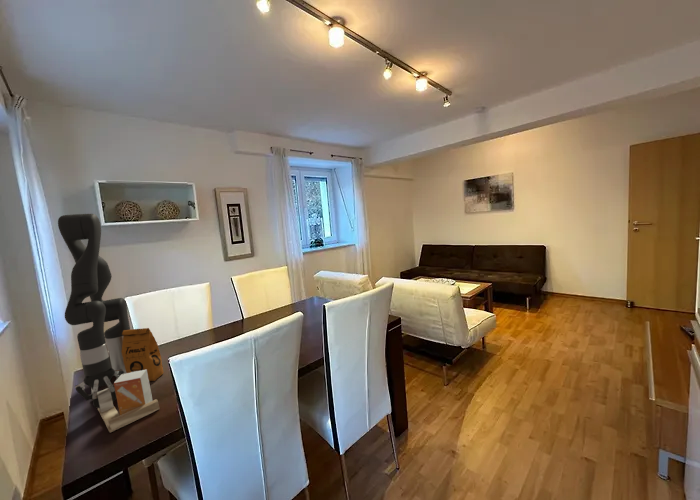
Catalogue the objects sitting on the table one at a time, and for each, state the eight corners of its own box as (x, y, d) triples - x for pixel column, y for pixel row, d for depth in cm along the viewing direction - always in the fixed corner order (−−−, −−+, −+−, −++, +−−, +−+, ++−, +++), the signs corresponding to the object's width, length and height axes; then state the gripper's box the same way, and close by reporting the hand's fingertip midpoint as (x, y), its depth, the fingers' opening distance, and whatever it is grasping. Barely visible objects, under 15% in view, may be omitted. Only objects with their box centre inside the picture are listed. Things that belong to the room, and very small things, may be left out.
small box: (120, 419, 104) (112, 383, 102) (128, 407, 110) (121, 373, 108) (147, 412, 106) (140, 377, 104) (153, 402, 112) (147, 368, 111)
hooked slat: (92, 399, 117) (88, 382, 116) (135, 382, 128) (132, 366, 127) (109, 432, 97) (105, 412, 96) (159, 409, 107) (156, 390, 106)
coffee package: (153, 384, 125) (143, 332, 122) (124, 386, 126) (113, 334, 123) (168, 371, 135) (159, 323, 132) (141, 373, 136) (132, 325, 133)
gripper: (118, 348, 115) (126, 391, 117) (67, 364, 104) (77, 411, 106) (123, 352, 109) (132, 397, 112) (70, 370, 99) (81, 419, 101)
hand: (105, 404), depth 109 cm, fingers closed on hooked slat, 3 cm apart
